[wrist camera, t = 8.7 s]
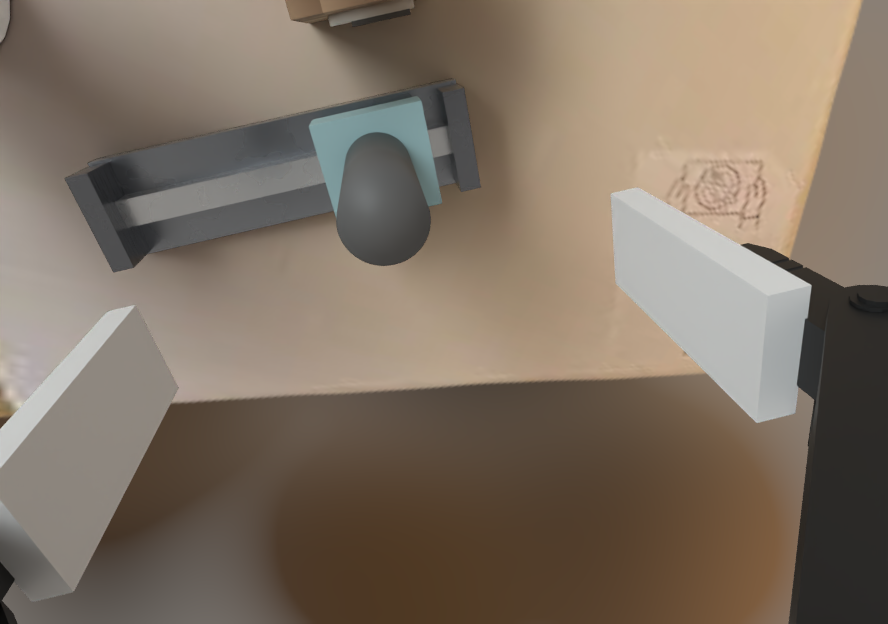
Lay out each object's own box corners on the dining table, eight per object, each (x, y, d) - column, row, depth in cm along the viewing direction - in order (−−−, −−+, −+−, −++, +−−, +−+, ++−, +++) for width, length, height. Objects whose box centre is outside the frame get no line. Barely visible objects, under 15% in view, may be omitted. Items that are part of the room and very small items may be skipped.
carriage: (341, 210, 34) (328, 303, 23) (314, 117, 32) (283, 167, 20) (435, 188, 35) (472, 270, 23) (416, 94, 32) (446, 130, 20)
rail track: (140, 250, 36) (114, 275, 32) (96, 158, 33) (62, 174, 30) (469, 174, 37) (481, 190, 33) (452, 78, 34) (463, 83, 30)
